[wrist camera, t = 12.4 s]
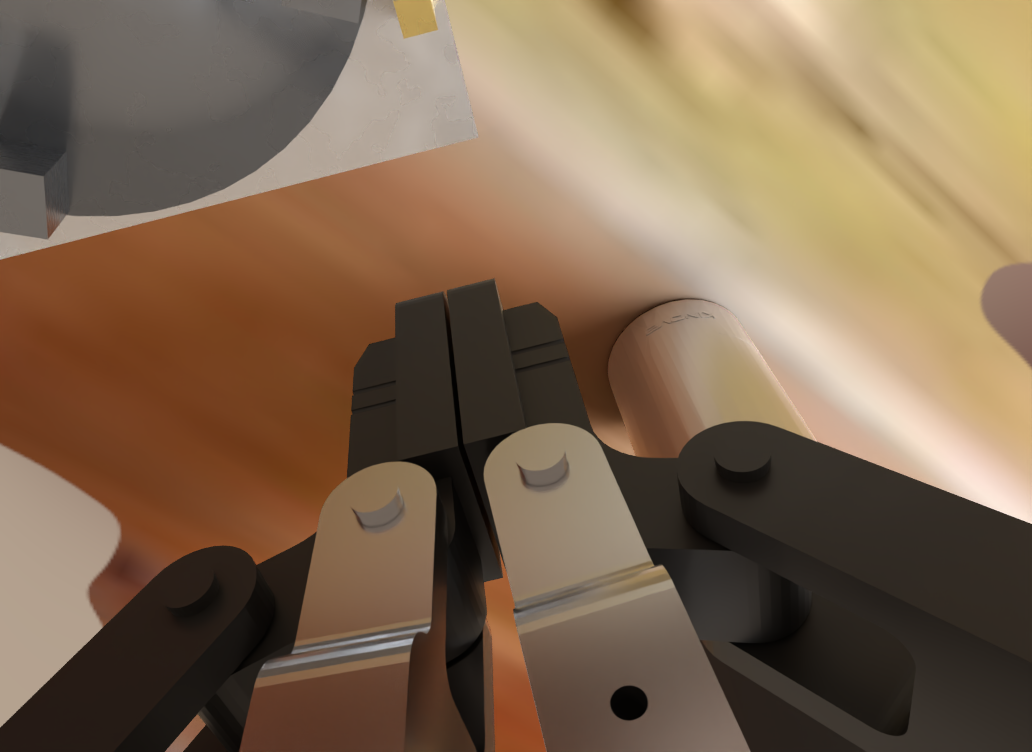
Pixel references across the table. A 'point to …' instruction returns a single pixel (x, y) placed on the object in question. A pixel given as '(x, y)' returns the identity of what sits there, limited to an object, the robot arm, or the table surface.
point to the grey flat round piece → (154, 98)
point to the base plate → (344, 116)
